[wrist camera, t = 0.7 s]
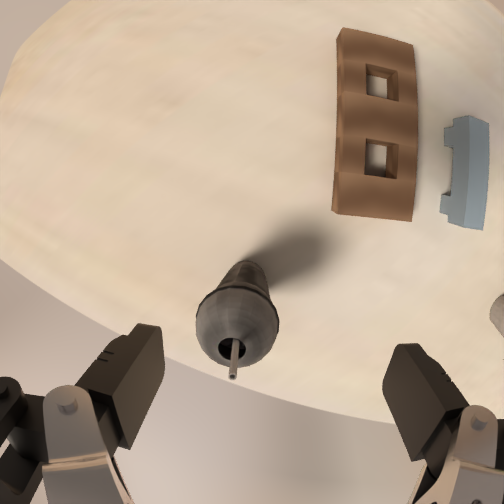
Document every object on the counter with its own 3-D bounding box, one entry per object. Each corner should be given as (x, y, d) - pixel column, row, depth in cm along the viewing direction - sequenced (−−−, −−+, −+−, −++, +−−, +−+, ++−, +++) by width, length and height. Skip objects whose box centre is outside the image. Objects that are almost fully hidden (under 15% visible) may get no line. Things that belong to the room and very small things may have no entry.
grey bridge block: (441, 121, 29) (468, 115, 23) (460, 127, 29) (488, 123, 23) (435, 218, 32) (463, 227, 26) (454, 220, 32) (482, 230, 26)
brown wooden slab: (336, 39, 27) (342, 27, 24) (401, 54, 27) (412, 45, 24) (331, 210, 33) (338, 214, 30) (399, 217, 33) (411, 221, 29)
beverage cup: (207, 288, 36) (153, 396, 17) (233, 238, 35) (193, 319, 15) (258, 314, 37) (248, 437, 18) (287, 267, 35) (306, 372, 16)
